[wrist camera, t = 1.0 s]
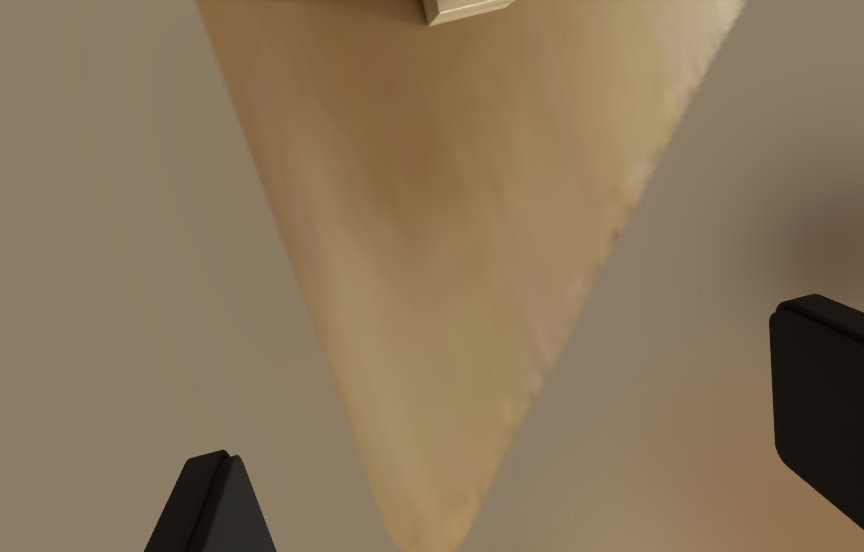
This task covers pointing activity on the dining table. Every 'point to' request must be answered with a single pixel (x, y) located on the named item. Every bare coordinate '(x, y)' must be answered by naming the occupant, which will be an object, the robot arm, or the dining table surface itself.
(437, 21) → the cube
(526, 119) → the dining table surface
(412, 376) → the dining table surface
